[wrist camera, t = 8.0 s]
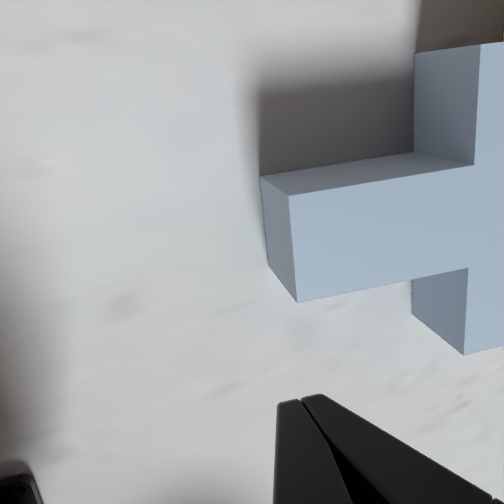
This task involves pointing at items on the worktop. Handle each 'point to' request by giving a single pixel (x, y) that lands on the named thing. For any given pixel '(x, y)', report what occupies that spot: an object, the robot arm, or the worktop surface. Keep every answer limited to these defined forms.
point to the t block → (410, 208)
